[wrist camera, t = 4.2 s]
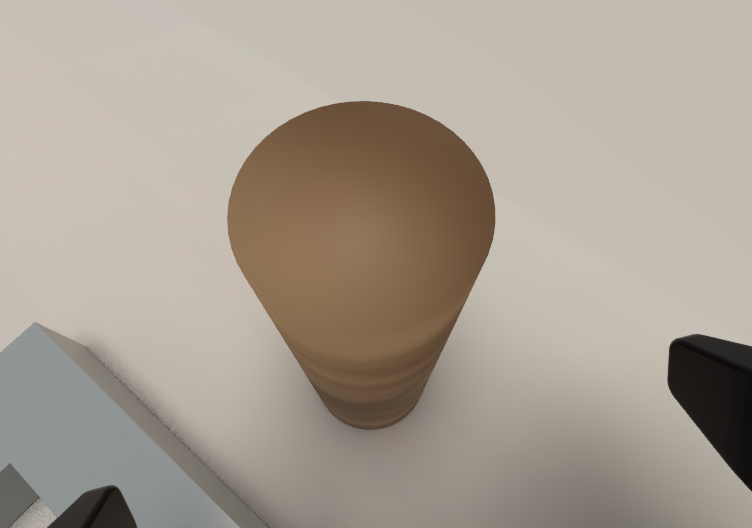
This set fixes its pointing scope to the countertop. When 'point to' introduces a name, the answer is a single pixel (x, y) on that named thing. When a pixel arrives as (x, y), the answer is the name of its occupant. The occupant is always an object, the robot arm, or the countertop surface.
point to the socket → (96, 442)
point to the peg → (363, 248)
